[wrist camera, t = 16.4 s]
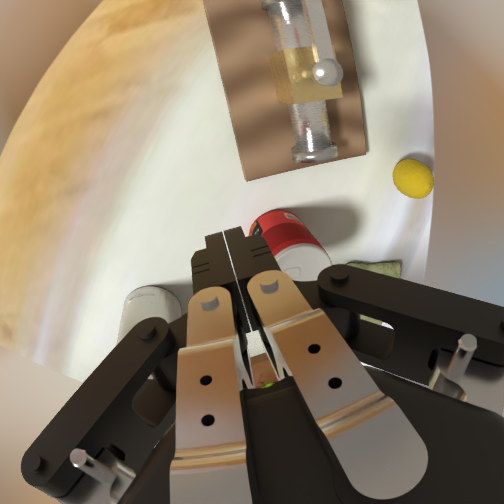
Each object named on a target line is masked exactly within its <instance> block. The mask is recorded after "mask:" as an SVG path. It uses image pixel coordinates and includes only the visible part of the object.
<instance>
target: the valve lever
mask: <svg viewBox="0 0 504 504" xmlns="http://www.w3.org/2000/svg"><path fill="white" fill-rule="evenodd" d="M301 3H302V7H303V11H304V15H305V19H306V23H307V28H308V32H309V36H310V41H311V45H312V50H313V55H314V60H315V62H314V64H313V65H312V67H311V76H312V78H313V80H314V81H315V82H316V83H317V84H318V85H321V86H328V87H332V86H336V85H338V84H339V83H340V82H341V80H342V78H343V69H342V67H341V65H340V64H339V63H338V62H337V61H336V60H335V59H334V54H333V49H332V44H331V39H330V35H329V30H328V26H327V21H326V17H325V13H324V9H323V5H322V1H321V0H301Z"/></svg>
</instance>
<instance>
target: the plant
mask: <svg viewBox="0 0 504 504" xmlns="http://www.w3.org/2000/svg"><path fill="white" fill-rule="evenodd" d="M250 361H251V366H252V372H253V378H254V384H255V388H265V387H269V386H271V385H273V384H275V383H276V382H278V378H277V376H276V374H275V372H274V369H273V367H272V365H271V363H270V361H269V358H268V356H267V354H266V353H263V354H260V355H257V356H254V357H251V358H250Z"/></svg>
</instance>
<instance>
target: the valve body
mask: <svg viewBox="0 0 504 504" xmlns="http://www.w3.org/2000/svg"><path fill="white" fill-rule="evenodd" d="M259 1H260V5H261V9H262V10H265V11H268V15H269V19H270V23H271V27H272V32H273V36H274V40H275V45H276V49H277V52H275V53H272V54H270V55H268V58H269V63H270V67H271V72H272V77H273V82H274V86H275V91H276V96H277V101H278V102H281V103H288V108H289V114H290V119H291V125H292V131H293V136H294V142H295V146H293V147H292V148H291V154H292V160H293V161H295V162H299V163H318V162H324V161H328V160H331V159H334V158H336V157H337V156H338V150H337V144H336V143H334V142H331V134H330V127H329V120H328V113H327V106H326V100H328V99H335V98H343V95H342V89H341V83H339V84H338V85H336V86H332V87H328V86H321V85H318V84H317V83H316V82H315V81H314V80H313V78H312V76H311V67H312V65H313V64H314V62H315V60H314V55H313V50H312V45H311V41H310V36H309V32H308V28H307V23H306V19H305V15H304V11H303V7H302V3H301V0H259ZM332 49H333V54H334V59H335V60H336V54H335V49H334V45H332ZM336 61H337V60H336Z"/></svg>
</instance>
